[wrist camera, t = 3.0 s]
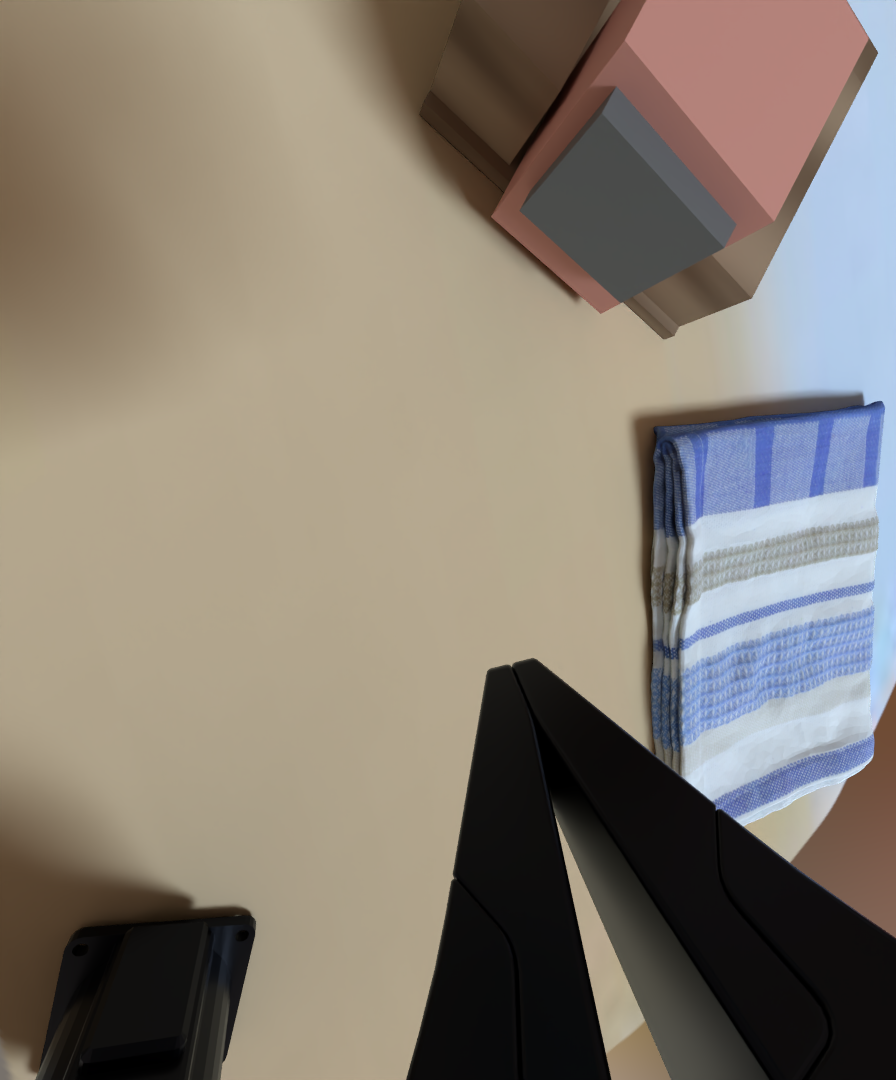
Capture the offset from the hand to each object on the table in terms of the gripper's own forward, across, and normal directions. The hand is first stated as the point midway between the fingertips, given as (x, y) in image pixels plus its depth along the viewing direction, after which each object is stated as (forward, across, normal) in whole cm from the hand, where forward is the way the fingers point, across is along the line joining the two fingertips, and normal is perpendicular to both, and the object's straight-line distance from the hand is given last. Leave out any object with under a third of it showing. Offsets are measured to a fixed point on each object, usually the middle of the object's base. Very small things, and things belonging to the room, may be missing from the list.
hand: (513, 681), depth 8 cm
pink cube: (+16, -8, -8) cm, 20 cm away
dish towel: (+14, -17, +14) cm, 26 cm away
